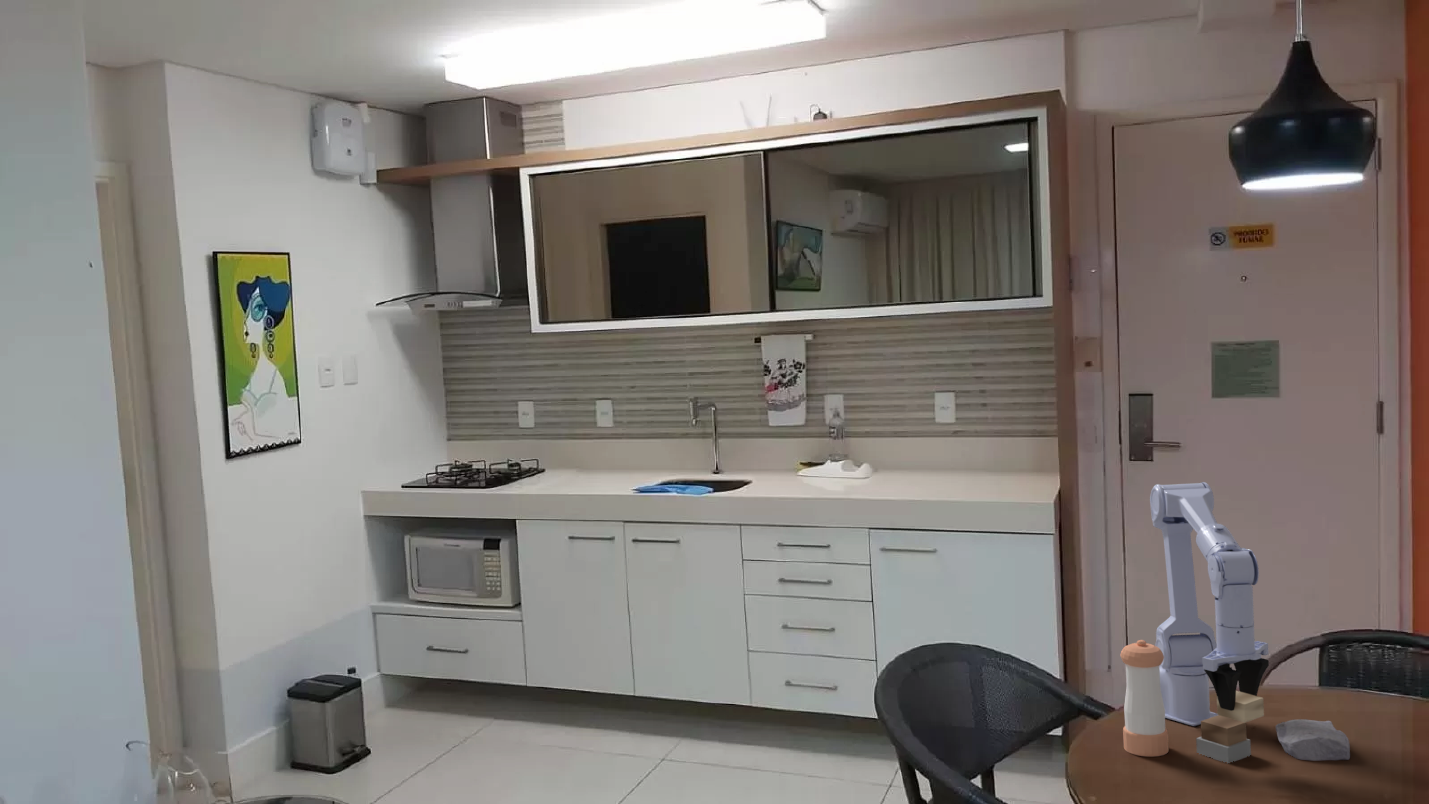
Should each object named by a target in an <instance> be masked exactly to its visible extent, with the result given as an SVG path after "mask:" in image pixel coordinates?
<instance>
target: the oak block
mask: <svg viewBox="0 0 1429 804" xmlns="http://www.w3.org/2000/svg"><path fill="white" fill-rule="evenodd" d="M1264 701H1265V700H1264V697H1261V696H1258V695H1257V696H1255V695H1251V694H1247V693H1243V692H1240V691H1239V690H1236V701H1235V707H1234V710H1232V711H1230V710H1226V709H1223V708H1221V707H1220V704H1219V701H1218V698H1217V697H1216V713H1217V715H1220V716H1224V717H1227V718H1231V719H1234V720H1238V721H1241V722H1246V723H1247V722H1251V721H1253V720H1256V719H1260V718H1262V717H1265V706H1264Z"/></svg>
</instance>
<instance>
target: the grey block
mask: <svg viewBox="0 0 1429 804" xmlns="http://www.w3.org/2000/svg"><path fill="white" fill-rule="evenodd" d="M1195 741H1196V742H1195V743H1196V745H1195V746H1196V754H1197V753H1199V754H1198V755H1200V754H1202V755H1201V756H1203V755H1205V756H1204V757H1206V756H1207V758H1209V757H1211V758H1210V759H1212V758H1213V760H1215V761H1218V762H1222V761H1223V762H1222V763H1225V762H1227V763H1226V764H1228V763H1229V764H1231V763H1230V762H1232V763H1234V762H1237V761H1240V760H1243V759H1245V758H1247V756H1248V757H1250V755H1251V756H1252V750H1251V746H1252V745H1251V739H1249V738H1247V740H1244V741H1242V742H1239V743H1236V744H1233V745H1230V746H1225V745H1222V744H1218V743H1215V742H1212V741H1208V740H1205V739H1202V738H1201V736H1199V737H1196V738H1195ZM1233 761H1234V762H1233Z"/></svg>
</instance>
